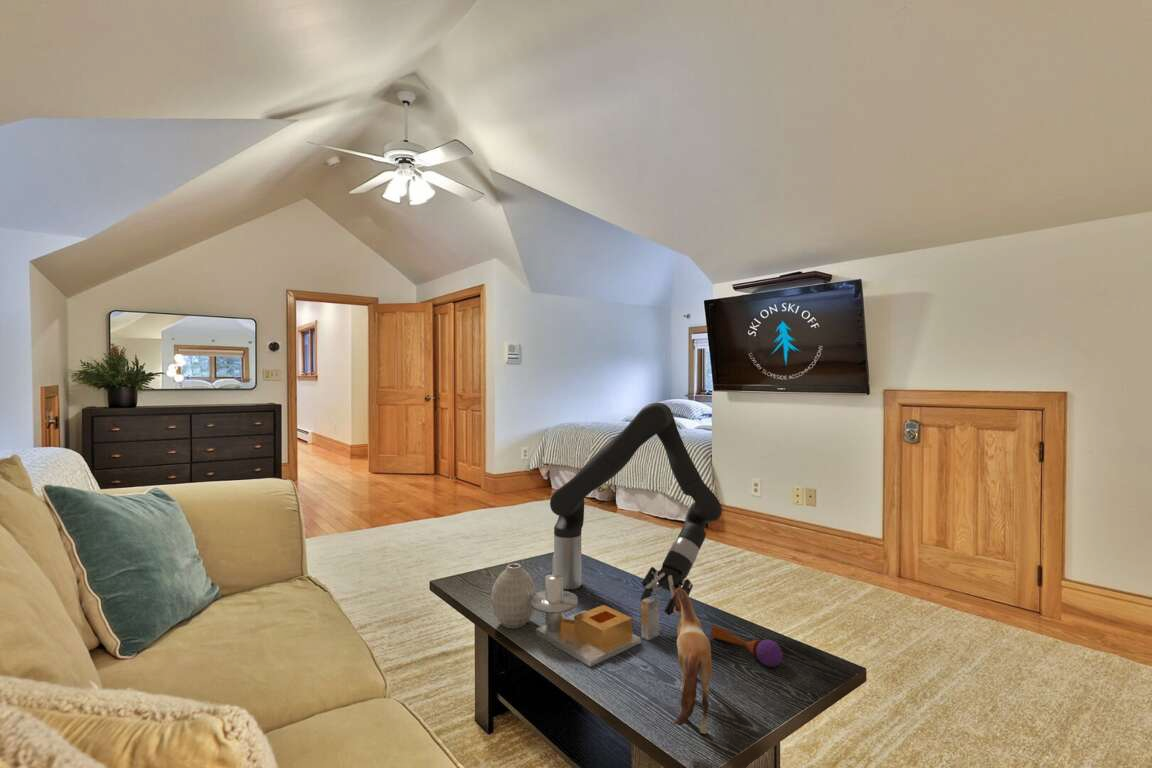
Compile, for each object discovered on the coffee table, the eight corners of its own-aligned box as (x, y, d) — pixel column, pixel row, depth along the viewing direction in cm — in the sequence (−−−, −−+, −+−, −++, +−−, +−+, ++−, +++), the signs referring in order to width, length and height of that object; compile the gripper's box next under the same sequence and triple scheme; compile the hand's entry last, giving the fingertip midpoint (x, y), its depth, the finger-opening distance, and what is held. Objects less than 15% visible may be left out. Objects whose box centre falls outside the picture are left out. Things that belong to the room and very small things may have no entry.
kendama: (722, 619, 150) (787, 643, 133) (721, 642, 149) (786, 669, 132) (708, 620, 146) (772, 645, 130) (706, 644, 145) (771, 672, 129)
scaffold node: (520, 632, 150) (520, 576, 149) (577, 611, 163) (577, 559, 163) (582, 670, 130) (582, 606, 130) (640, 643, 144) (640, 584, 144)
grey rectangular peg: (641, 636, 147) (641, 600, 147) (651, 631, 150) (652, 595, 150) (648, 640, 145) (648, 603, 145) (658, 635, 148) (659, 598, 148)
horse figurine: (671, 665, 133) (671, 582, 132) (703, 668, 131) (704, 584, 131) (672, 753, 102) (673, 644, 102) (714, 758, 101) (715, 648, 100)
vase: (527, 610, 163) (527, 555, 163) (543, 628, 152) (543, 569, 151) (485, 618, 158) (485, 561, 158) (499, 638, 146) (499, 576, 146)
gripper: (656, 544, 160) (628, 593, 152) (695, 556, 149) (668, 610, 142) (667, 558, 163) (641, 607, 156) (707, 571, 153) (681, 624, 145)
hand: (654, 608), depth 149 cm, fingers open, 8 cm apart
